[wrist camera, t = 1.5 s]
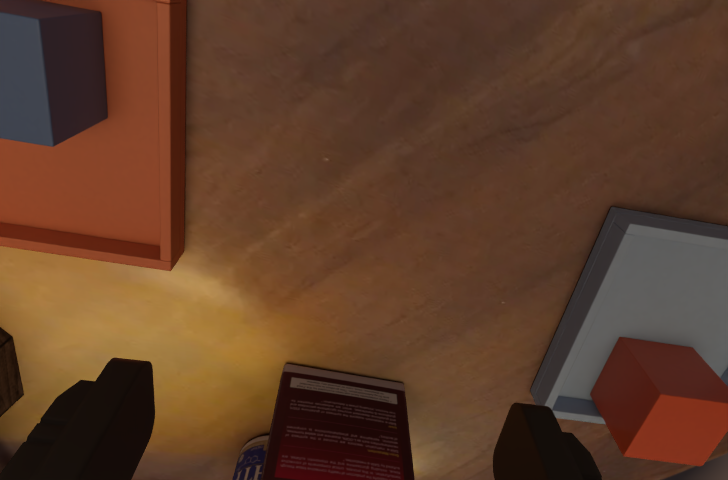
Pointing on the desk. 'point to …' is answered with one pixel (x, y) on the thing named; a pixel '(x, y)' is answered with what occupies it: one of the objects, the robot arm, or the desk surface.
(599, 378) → the rust cube
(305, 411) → the supplement box
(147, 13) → the terracotta tray
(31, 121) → the blue cube
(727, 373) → the gray tray
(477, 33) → the desk surface
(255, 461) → the pill bottle
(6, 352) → the mug
